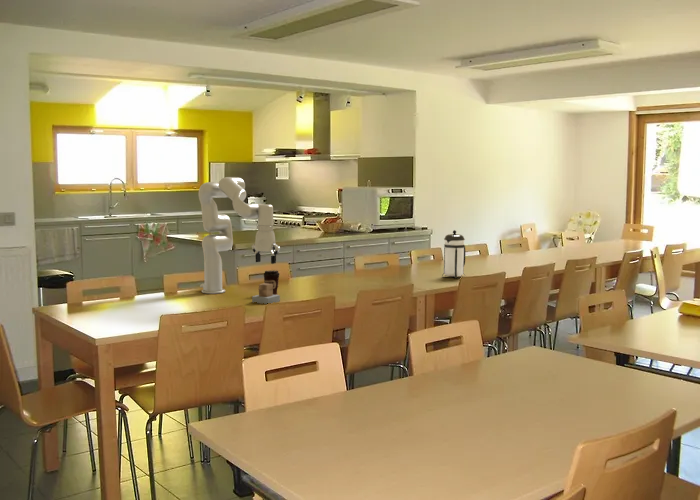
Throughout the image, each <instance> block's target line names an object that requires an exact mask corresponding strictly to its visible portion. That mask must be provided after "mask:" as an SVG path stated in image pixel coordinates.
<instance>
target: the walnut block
mask: <svg viewBox="0 0 700 500" xmlns="http://www.w3.org/2000/svg"><path fill="white" fill-rule="evenodd" d="M258 295H259V296H262V297H269V296H273V284H268V283H264V282H263V283H260V284H258Z"/></svg>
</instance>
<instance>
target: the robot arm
mask: <svg viewBox="0 0 700 500" xmlns="http://www.w3.org/2000/svg"><path fill="white" fill-rule="evenodd" d="M245 189H246V183H245V181H244V179H243V178H242V177H238V176H226V177H221V179H219V181H208V182H204V183H202V184H201V185H200V187H199V190H198V200H199V203H200V206H201V218H202V226H203V230H204V231H206V232H208V233H211V234H207V235H205V236H203V238H202V241H201V246H202V251H203V265H204V266H203V267H204V268H203V269H204V273H203V274H204V275H203V279H204V283H201V284H199V287H200V288H202V289H201V293H203V294H208V295H210V294H211V295H212V294H213V295H214V294H222V293H225V292H226V289H225V288H223V260H222V257H221V254H220V253H219V252H227V251H229V250H231V249H232V248H233V244H234V239H233V237H234V236H233V225H232V220H231V218H230V216H228V215H227V214H224V213H219V211H218V205H217V203H216V201H215V200H214V199H215V198H217V199H218V198H219V199H221V198H224V199H225V198H228V199H230V201H232V207H233V210H234V212H235V213H237V214H238V215H239V216H240V217H241V218H243V219H247V220H248V219H257V223H258V224H257V226H256V229H257V231H256V233H255V238H254V239H255V242H254V243H253V244H251V249H252V251H253V252H254V255H255V263H260V262H261V258H262V257H261V254H260V253H261V252H263V253H270V255H271V256H270V264H272V265H273V264H276V263H277V256H278V254H279V253H280V250H281V247H280V246H279V245H278V244H276V236H275V235H276V234H275V231H274V207H273V205H272V204H266V203H259V202H258V203H257V202H256V203H246V202H245V199H246V198H247V191H246V190H245ZM215 232H218V233H215ZM212 233H214V234H212Z"/></svg>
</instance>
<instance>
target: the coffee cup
mask: <svg viewBox="0 0 700 500" xmlns="http://www.w3.org/2000/svg"><path fill="white" fill-rule="evenodd" d="M263 278H264V279H263V281H264V282H263V283H268V284H273V295H279V294H278V288H279V279H280V272H279V270H275V269H274V270H273V269H272V270H265V271H264V273H263Z"/></svg>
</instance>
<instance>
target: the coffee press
mask: <svg viewBox="0 0 700 500" xmlns="http://www.w3.org/2000/svg"><path fill="white" fill-rule="evenodd" d="M443 239H444V244H443V245H444V246H443V248H444V249H443V251H444V252H443V273H442V274H441V277H444V276H445V277H447V276H448V277H453V278H454V277H455V278H457V279H458V277H462V276H463V275H465V273H464V271H465V270H464V269H465V268H464V267H465V265H466V245H465V240H466V239H465V237H464V236H463V234H459V233H458V234H457V230H455V229H454V230H453V231H452V233H449V234H446V235H445V237H444V238H443ZM455 278H454V279H455Z"/></svg>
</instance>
